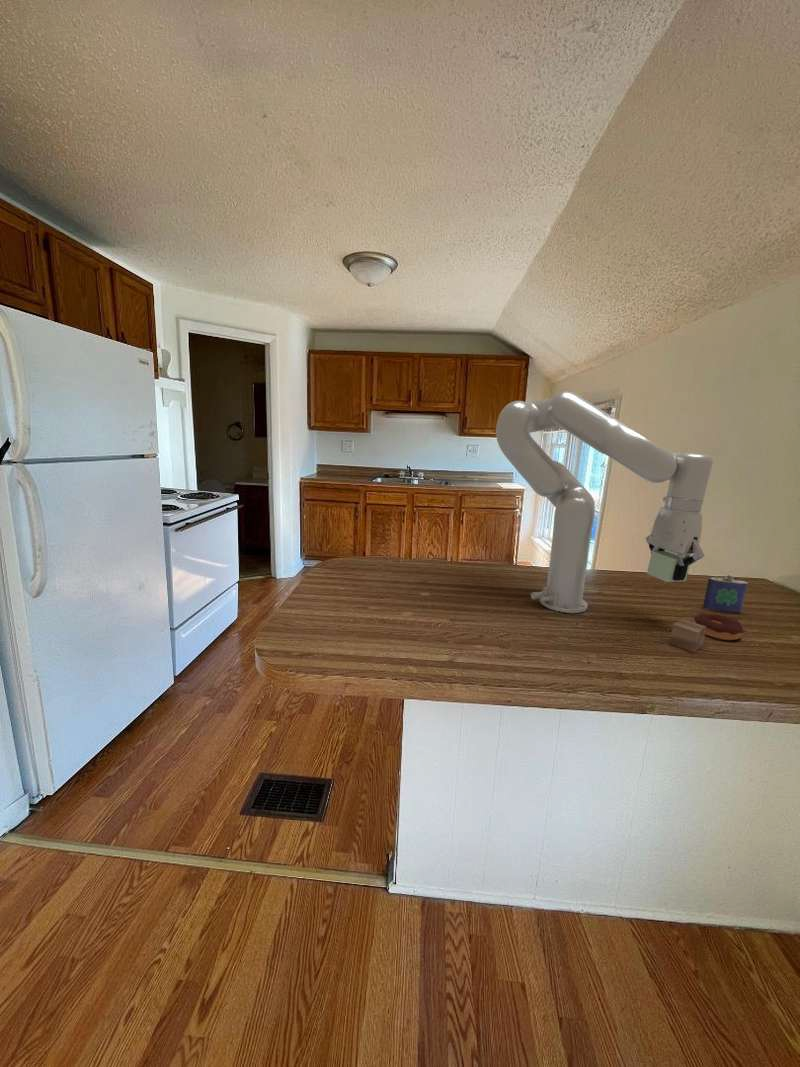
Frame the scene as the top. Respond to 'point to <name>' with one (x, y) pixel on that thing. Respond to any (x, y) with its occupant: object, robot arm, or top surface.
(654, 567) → the sage block
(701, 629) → the walnut block
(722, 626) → the donut
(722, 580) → the flask
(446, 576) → the top surface
